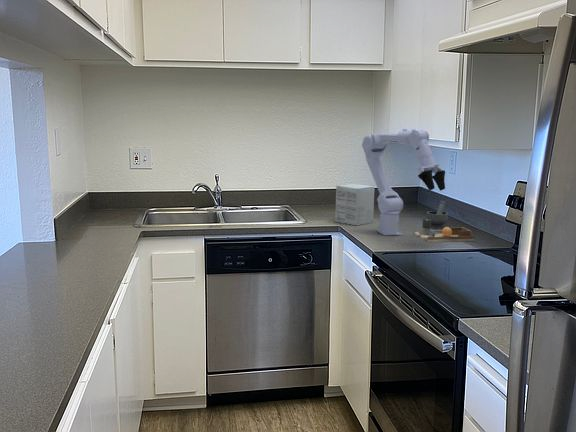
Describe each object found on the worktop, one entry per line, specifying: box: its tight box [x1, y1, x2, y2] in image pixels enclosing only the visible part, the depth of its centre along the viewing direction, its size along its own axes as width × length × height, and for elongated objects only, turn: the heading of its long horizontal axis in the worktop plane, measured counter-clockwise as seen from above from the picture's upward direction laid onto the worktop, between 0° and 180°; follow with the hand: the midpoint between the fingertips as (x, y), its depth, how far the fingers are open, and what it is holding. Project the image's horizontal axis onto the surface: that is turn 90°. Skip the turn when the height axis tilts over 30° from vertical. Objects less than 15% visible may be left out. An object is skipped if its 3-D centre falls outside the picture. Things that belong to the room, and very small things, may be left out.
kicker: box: [420, 218, 435, 237], centre depth 243 cm, size 9×3×6 cm, turn 10°
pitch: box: [412, 226, 475, 243], centre depth 244 cm, size 16×20×4 cm
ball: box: [441, 226, 452, 236], centre depth 241 cm, size 4×4×4 cm
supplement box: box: [334, 183, 375, 226], centre depth 274 cm, size 13×13×18 cm
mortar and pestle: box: [426, 200, 449, 230], centre depth 265 cm, size 11×9×12 cm
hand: (437, 189), depth 226 cm, fingers open, 7 cm apart
